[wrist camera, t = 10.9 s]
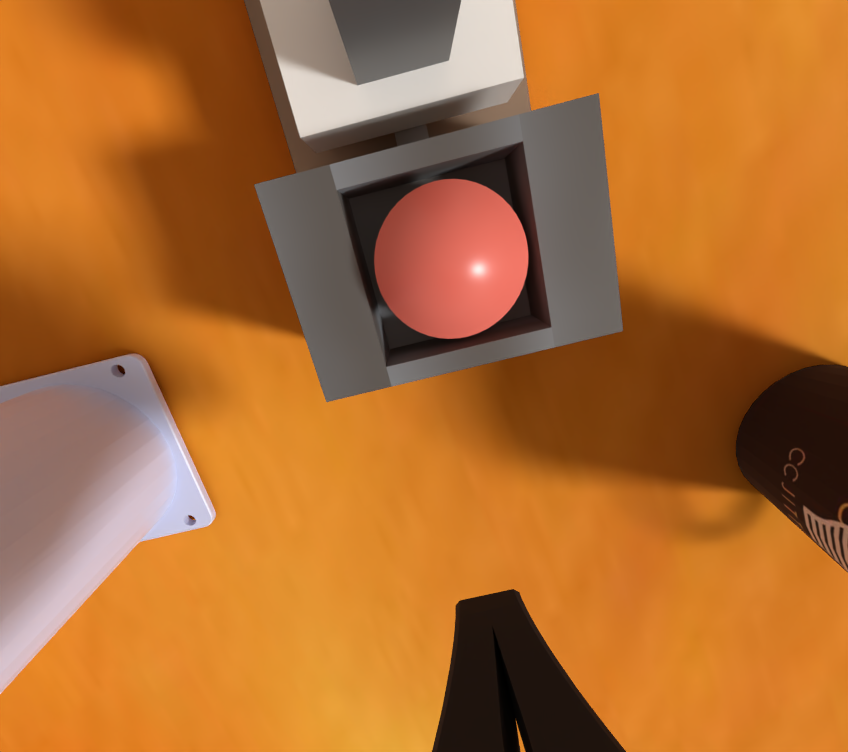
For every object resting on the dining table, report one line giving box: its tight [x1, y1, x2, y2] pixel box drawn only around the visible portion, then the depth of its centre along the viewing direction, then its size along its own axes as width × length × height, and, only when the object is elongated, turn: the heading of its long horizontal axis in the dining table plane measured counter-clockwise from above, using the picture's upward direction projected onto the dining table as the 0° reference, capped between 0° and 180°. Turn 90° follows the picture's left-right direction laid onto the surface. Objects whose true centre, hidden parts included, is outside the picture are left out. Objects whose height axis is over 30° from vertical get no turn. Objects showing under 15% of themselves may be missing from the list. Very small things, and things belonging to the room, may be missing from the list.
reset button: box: [374, 179, 528, 339], centre depth 11 cm, size 4×4×2 cm
